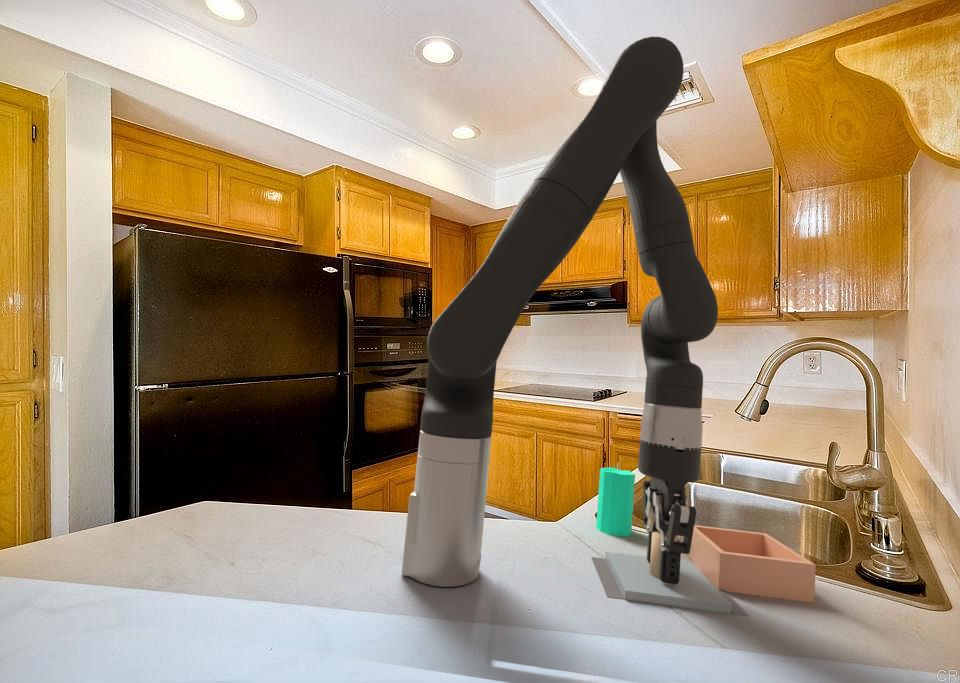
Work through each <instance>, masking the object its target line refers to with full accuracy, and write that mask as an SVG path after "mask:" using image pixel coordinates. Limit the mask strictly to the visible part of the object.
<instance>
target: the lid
mask: <svg viewBox="0 0 960 683" xmlns="http://www.w3.org/2000/svg"><path fill="white" fill-rule="evenodd" d="M674 541H676V542H677V539H676V536H675V539H674ZM660 553H661V537H660V532H652V541H651V556H650V563H649V562H648V561H647V556H643V555H638V554H627V553H619V552H612V551H605V558H604V559H606V561H607V563H608V565H609V567H610V570H611V572H612V574H613V576H614V578H615V580H616V582H617V584H618V586H619V588H620V590H621V593H622V595H623V597H624V599H627V600H626V601H631V600H634V601H633V602H638V601H642V602H641V603H646V602H649V603H648V604H653V603H657V604H656V605H661V604H664V605H663V606H668V605H671V606H670V607H676V606H679V607H678V608H683V607H686V608H685V609H690V608H694V609H693V610H698V609H701V610H700V611H705V610H709V611H708V612H713V611H716V612H715V613H720V612H724V613H723V614H728V613H731V608H732V604H731V603H730V602H729V601H728V600H727V599H726V598H725V597H724V596H723V595H722V594H721V593H720V592H719V590H718V589H717V588H716V587H715V586H714V585H713V584H712V583H711V582H710V581H709V580H708V579H707V578H706V577H705V576H704V574H703V573H702V572H701V571H700V570H699V569H698V568H697V567H696V566H695V565H694V564H693V563H692V562H691V561H684V560H680V576H679V583H678V584H669V583H663V582H662V581H661V579H660V578H659V569H660Z"/></svg>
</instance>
